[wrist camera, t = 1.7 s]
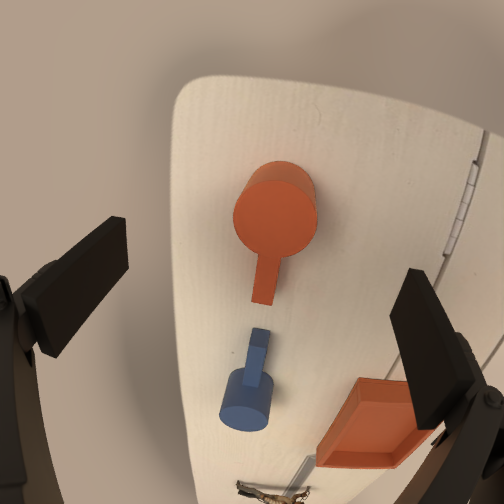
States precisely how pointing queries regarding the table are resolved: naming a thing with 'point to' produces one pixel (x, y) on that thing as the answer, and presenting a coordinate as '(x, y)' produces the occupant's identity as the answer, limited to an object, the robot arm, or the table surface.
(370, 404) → the tray
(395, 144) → the table surface
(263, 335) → the blue scoop
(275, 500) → the figurine
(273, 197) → the terracotta scoop
